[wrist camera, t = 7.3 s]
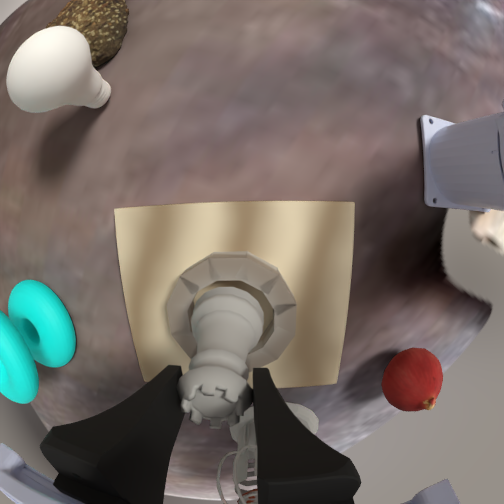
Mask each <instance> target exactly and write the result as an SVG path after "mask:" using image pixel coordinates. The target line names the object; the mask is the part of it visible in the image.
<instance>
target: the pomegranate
mask: <svg viewBox="0 0 504 504" xmlns="http://www.w3.org/2000/svg"><path fill="white" fill-rule="evenodd" d="M442 381H443V374H442V368H441V364H440V362H439V360H438V359H437V358H436V357H435V356H434V355H433V354H432V353H431V352H429V351H428V350H426V349H422V348H410V349H407V350H404V351H402V352H400V353H398V354H397V355H395V356H394V358H393V359H392V360H391V361H390V363H389V364H388V366H387V367H386V369H385V371H384V375H383V379H382V384H381V385H382V390H383V393H384V395H385V398H386V399H387V401H388V402H389V403H390V404H391V405H393V406H394V407H396V408H398V409H399V410H402V411H419V410H423V409H427V410H431V409H432V408H434V406H435V403H436V401H435V400H436V398H437V396H438V394H439V392H440V390H441V386H442Z"/></svg>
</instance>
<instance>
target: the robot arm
mask: <svg viewBox="0 0 504 504" xmlns="http://www.w3.org/2000/svg"><path fill="white" fill-rule="evenodd" d="M502 107H503V108H504V101H503V102H502ZM429 120H430V121H431V124H430V122H429ZM420 121H421V130H422V141H423V155H424V201H425V204H426V205H427V206H432V207H443V208H454V209H464V210H473V211H482V212H489V211H490V209H494V210H500V211H504V112H501V113H497V114H492V115H488V116H484V117H480V118H476V119H472V120H468V121H464V122H460V123H457V124H455V123H452V122H449V121H445V120H442V119H438V118H435V117H431V116H428V115H423V116H421V118H420ZM433 199H435V202H434V203H433ZM181 376H183V374H182V369H181V366H178V365H168V366H167V367H165V368H164V369H163V370H162V371H161V372H160V373H159V374H157V375H156V376H155V377H154V378H153V379H152V380H151V381H149V382H148V383H147V384H146V385H145V386H143V387H142V388H141V389H140V390H138V391H137V392H136V393H134V394H133V395H132V396H130V397H129V398H127V399H126V400H124V401H123V402H121V403H120V404H118V405H116V406H114V407H113V408H111V409H109V410H107V411H104V412H102V413H100V414H98V415H95V416H93V417H90V418H88V419H85V420H82V421H78V422H75V423H71V424H66V425H61V426H55V427H52V429H51V430H50V431H49V433H48V434H47V436H46V437H45V438H44V440H43V441H42V443H41V444H40V449H41V451H42V453H43V455H44V456H45V457H46V459H47V460H48V461H49V462H50V463H51V465H52V466H53V467H54V468H55V469H56V470H57V471H58V473H59V474H58V476H57V477H56V479H55V480H53V479H51V478H49V477H47V476H45V475H44V474H42V473H40V472H38V471H37V470H35V469H34V468H32V467H30V466H29V465H27V464H26V463H25V461H24V460H23V459H22V458H21V457H20V456H19V455H18V454H17V453H16V452H15V451H13V450H12V449H11V448H9V447H8V446H6V445H5V444H4V443H1V444H0V490H1V491H2V492H3V493H4V494H5V495H6V496H7V497H9V498H10V499H11V500H12V501H13V502H15V503H16V504H163V499H164V490H165V483H166V477H167V471H168V466H169V461H170V456H171V453H172V449H173V446H174V443H175V440H176V437H177V435H178V432H179V429H180V426H181V423H182V420H183V417H184V414H185V413H183V412H182V409H181V402H182V400H181V399H180V398H179V395H178V391H177V388H176V387H177V384H178V381H179V378H180V377H181ZM253 408H254V424H255V433H256V442H257V490H258V504H354V500H353V496H354V495H355V493H356V492H357V490H358V488H359V487H360V484H361V480H360V476H359V474H358V472H357V470H356V468H355V466H354V464H353V463H352V461H351V460H350V458H348V457H346V456H344V455H342V454H341V453H339V452H337V451H336V450H334V449H333V448H331V447H330V446H328V445H327V444H325V443H324V442H323V441H321V440H320V439H319V438H318V437H317V436H315V435H314V434H313V433H312V432H311V431H309V430H308V429H307V428H306V427H305V426H304V425H303V424H302V423H301V421H300V420H299V419H298V418H297V417H296V416H295V415H294V413H293V412H292V411H291V410H290V408H289V407H288V405H287V404H286V403H285V401H284V400H283V398H282V396H281V395H280V393H279V391H278V390H277V388H276V386H275V384H274V382H273V380H272V377H271V375H270V371H269V369H268V368H253ZM402 504H460V502H459V500H458V498H457V496H456V494H455V492H454V490H453V488H452V486H451V484H450V482H449V480H448V479H444V480H442V481H440V482H438V483H436V484H434V485H432V486H430V487H427V488H425V489H423V490H422V491H420V492H419V493H418V494H416V495H415V496H414V497H413V499H412V500H410V501H407V502H405V503H402Z"/></svg>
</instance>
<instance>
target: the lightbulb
mask: <svg viewBox="0 0 504 504" xmlns="http://www.w3.org/2000/svg"><path fill="white" fill-rule="evenodd" d="M6 83H7V89H8V93H9V96H10V98H11V100H12V101H13V102H14V104H15V105H16V106H18V107H19V108H21V109H22V110H24V111H28V112H32V113H40V112H47V111H50V110H53V109H55V108H58V107H61V106H63V105H67V104H71V105H76V106H87V107H90V108H99V107H101V106H102V105H104V104H105V103H106V102H107V100H108V99H109V97H110V94H111V87H110V85H109V84H108V83H107V82H106V81H105V80H103V79H102V77H101V75H100V73H99V72H98V71H96V70H95V68H94V67H93V65H92V59H91V53H90V48H89V44H88V42H87V40H86V39H85V37H84V35H82V34H81V33H80V32H79V31H77V30H76V29H73V28H71V27H67V26H54V27H49V28H46V29H44V30H41V31H39V32H37V33H35V34H34V35H33V36H31V37H30V38H29V39H27V40H26V41H25V42H24V43H23V44H22V45H21V46H20V48H19V49H18V50H17V52H16V53H15V55H14V57H13V58H12V60H11V63H10V65H9V68H8V73H7V81H6Z"/></svg>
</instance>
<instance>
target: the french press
mask: <svg viewBox="0 0 504 504" xmlns="http://www.w3.org/2000/svg"><path fill="white" fill-rule="evenodd" d="M285 403H286V404H287V405H288V407H289V408H290V410H291V411H292V412H293V413H294V415H295V416H296V417H297V418H298V419H299V420H300V421H301V423H302V424H303V425H304V426H305V427H306V428H307V429H308V430H309V431H311V432H312V433H313V434H314V435H315V434H316V432H317V431H318V423H319V420H318V418H317V417H316V415H315V414H314V412H313V411H312V410H310V409H308V408H306V407H304V406H302V405H300V404H294V403H288V402H285ZM229 429H230V432H231V436H232V438H233V439H234V440H235V441H236V442H237V443H238V449H237V451H232V452H229V453H227V454H226V455H225V456H224V457H223V458H222V459H221V461H220V464H219V466H218V472H217V478H216V479H217V489H218V492H219V495H220V498H221V500H222V502H223V503H224V504H227V502H226V500H225V499H224V497H223V493H222V490H221V486H220V481H219V479H220V473H221V467H222V464H223V462H224V460H225V459H226V458H227V456H229V455H232V454H237V455H236V457H235V459H234V461H233V481H234V484H235V492H236V493H237V494H238V496H239V500H238V501H237V502H238V504H258V490H257V489H253V490H250V491H246V490H242V489H240V488H239V486H238V484H239V483H240V484H242V485H245V486H251V485H257V480H252V481H246V479H247V477H251V476H257V442H256V433H255V424H254V408H253V407H250V408H248V409H247V410H246V411H245V412H244V416H240V423H238V424H236V425H234V426H232V427H231V426H230V428H229ZM249 459H255V463H248V460H249ZM253 467H255V469H254V471H253V472H247V469H248V468H253Z"/></svg>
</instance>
